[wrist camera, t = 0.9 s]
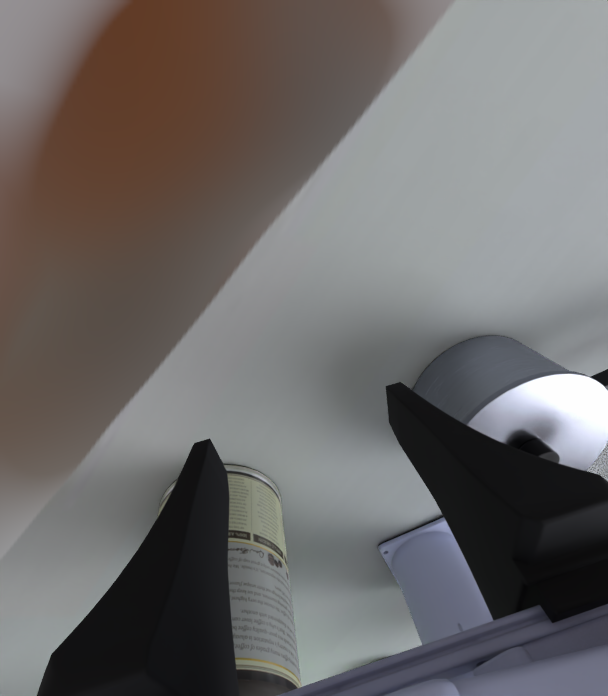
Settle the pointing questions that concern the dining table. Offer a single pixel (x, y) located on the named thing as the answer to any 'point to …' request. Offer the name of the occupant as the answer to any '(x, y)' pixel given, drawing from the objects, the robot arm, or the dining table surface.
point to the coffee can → (259, 586)
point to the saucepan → (521, 399)
